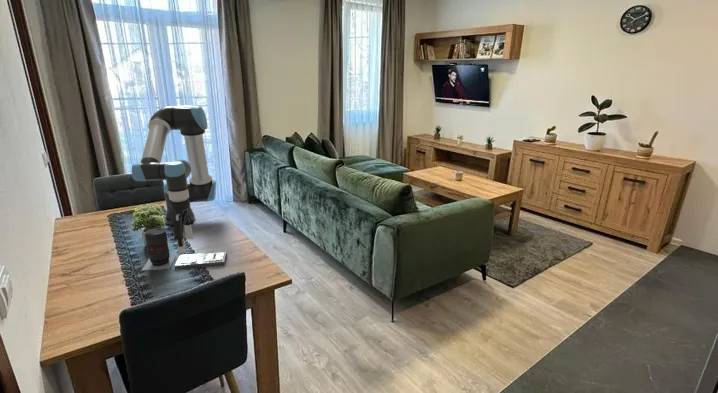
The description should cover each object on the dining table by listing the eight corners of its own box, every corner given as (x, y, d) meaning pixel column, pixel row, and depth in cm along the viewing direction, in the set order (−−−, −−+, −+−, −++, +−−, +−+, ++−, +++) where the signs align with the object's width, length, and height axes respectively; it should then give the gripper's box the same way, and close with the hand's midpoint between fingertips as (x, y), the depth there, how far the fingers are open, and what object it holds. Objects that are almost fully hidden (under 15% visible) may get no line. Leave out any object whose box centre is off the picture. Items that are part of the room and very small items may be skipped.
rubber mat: (149, 258, 167) (149, 257, 167) (176, 256, 169) (176, 255, 169) (141, 271, 157) (141, 270, 157) (169, 268, 159) (169, 267, 159)
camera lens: (162, 268, 158) (157, 236, 154) (146, 266, 160) (140, 234, 155) (175, 259, 166) (170, 228, 161) (159, 257, 167) (153, 226, 163)
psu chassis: (180, 258, 167) (179, 254, 166) (227, 255, 171) (226, 250, 170) (174, 269, 158) (174, 264, 157) (224, 265, 162) (223, 260, 161)
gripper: (177, 190, 165) (183, 234, 171) (160, 210, 142) (169, 259, 148) (195, 189, 166) (201, 233, 173) (181, 209, 143) (189, 258, 150)
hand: (186, 245), depth 161 cm, fingers open, 13 cm apart
